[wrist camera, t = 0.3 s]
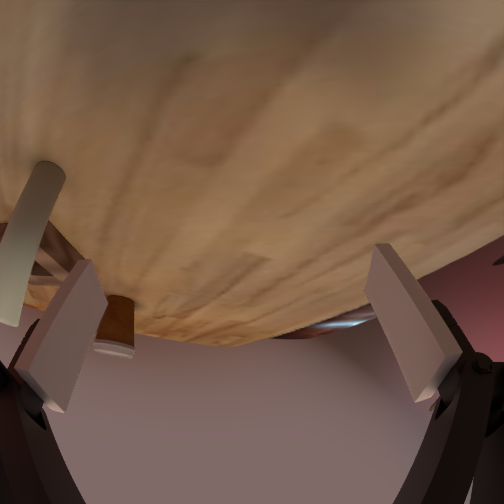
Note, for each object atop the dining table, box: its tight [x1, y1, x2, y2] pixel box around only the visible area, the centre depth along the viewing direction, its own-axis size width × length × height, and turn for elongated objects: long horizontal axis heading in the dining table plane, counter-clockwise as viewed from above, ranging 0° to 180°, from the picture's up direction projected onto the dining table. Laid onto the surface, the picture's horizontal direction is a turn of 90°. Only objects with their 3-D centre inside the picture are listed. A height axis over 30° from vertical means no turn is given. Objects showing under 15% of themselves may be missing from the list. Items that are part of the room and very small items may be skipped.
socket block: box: [0, 220, 85, 286], centre depth 38 cm, size 14×14×4 cm
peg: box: [0, 161, 65, 327], centre depth 21 cm, size 4×4×16 cm
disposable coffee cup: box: [93, 296, 136, 358], centre depth 57 cm, size 10×10×12 cm
